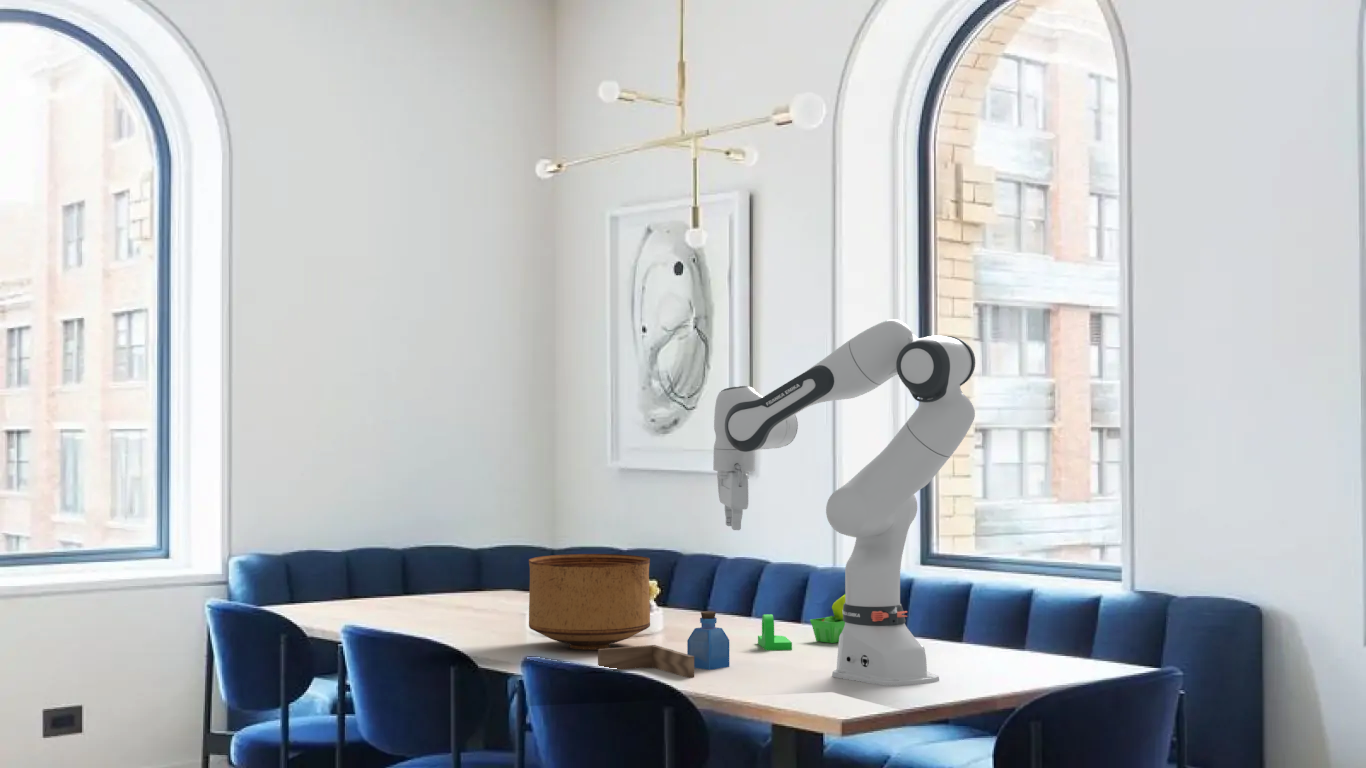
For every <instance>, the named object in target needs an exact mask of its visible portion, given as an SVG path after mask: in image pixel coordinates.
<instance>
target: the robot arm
mask: <svg viewBox="0 0 1366 768" xmlns="http://www.w3.org/2000/svg"><path fill="white" fill-rule="evenodd" d="M975 367H976V356H975V353H974V350H973V349H972V348H971V346H970V345H969V344H968V343H967V342H966V341H964V340H963V339H961V338H958V337H956V336H951V335H931V336H930V335H929V336H925V337H920V338H918V337H917V336H916V335H915V333H914V331H912V329H911V328H910V327H909V326H908V325H907V324H906V323H904V321H901V320H899V319H887V320H885V321H882V322H879V323H877V324H875V325H873V326H871V327H869V328H867V329H865V330H864V331H861V332H860V333H858V334H857V335H855V336H854V337H852V338H851V339H849V340H848V341H846V342H845V343H843V344H842V345H840V346H839V347H838V348H836V349H835V350H834V351H832V352H831V353H829V355H827V356H825V357H824V358H823V359H822V360H820V361H819V362H817V363H815V364H814V365H813V366H811V367H810V368H809V369H807V370H806V371H805V372H803V373H801V374H800V375H797V376H796V377H794V378H793V379H791V380H789V381H788V382H786V383H784V384H782V385H781V386H779V387H777V388H776V389H774V390H773V391H771V392H769V393H768V394H765V395H764V396H763V395H761V394H760V393H759V392H757V391H756V390H755V389H754V388H753V387H752V386H749V385H742V386H741V385H739V386H732V387H728V388H724V389H722V390H721V391H719V392H718V395H717V397H716V400H715V406H714V417H713V419H714V420H713V428H714V433H715V441H714V445H713V463H712V464H713V471H714V472H715V471H716V474H717V491H718V499H719V502H720V503H721V504H722V505H724V515H725V525H726V526H728V527H731V529H732V530H733V531H741V529H742V519H743V511H744V510H747V509H748V508H749V479H750V472H755V470H756V451H757V450H770V449H780V448H783V447H786V446H788V445H789V444H790V445H791V443H792V442H793V441H794V440H795V438H796V436H797V433H798V429H799V428H798V426H799V424H798V423H799V422H798V418H797V416H796V415H797V414H798V413H800V412H801V411H803V410H805V409H807V408H808V407H810V406H814V405H816V404H820V403H826V402H833V401H840V400H850V399H855V398H857V397H860V396H863V395H865V394H867V393H870V392H871V391H874V390H875V389H877V388H878V387H879V386H882V385H883V384H885V383H886V382H887V381H889V380H890V379H892V378H893V377H895V376H897V375H898V377H899V379H900V380H901V382H902V383H903V385H904V386H905V387H906V388H907V389H908V391H909V393H910V394H911V396H912V398H913V399H914V400H915V401H917V402H919V405H918V406H917V408H916V410H915V411H914V412H913V413H912V415H910V416H909V418H908V419H907V420H906V422H905V423H904V425H902V427H901V428H900V429H899V430H898V432H897V433H896V435H894V437H893V438H892V439H891V440H890V441H889V443H888V444H887V445H886V447H885V448H884V449H883V450H882V451H881V452H880V453H879V454H878V455H876V456H875V458H873V459H872V460H871V461H870V462H869V463H867V464H866V465H865V466H864V467H862V468H861V470H860V471H859V472H857V474H855V475H854V476H853V477H852V478H851V479H850V480H849V481H848V482H846V483H845V484H844V485H842V486H841V487H839V488H838V489H836V490H834V492H832V493H831V494H830V496H829V498H828V499H827V502H826V506H825V508H826V509H825V514H826V518H827V521H828V524H829V525H830V527H831V528H832V529H833V530H835V531H836V532H837V533H838V534H842V535H844V536H848V537H852V538H856V539H855V542H854V547H853V550H852V553H851V555H850V557H849V558H848V560H847V561H846V564H845V571H844V572H845V573H844V574H845V575H844V576H845V578H844V579H845V581H844V584H845V585H844V588H845V590H844V591H845V593H844V594H845V604H844V605H843V621H844V622H845V626H844V629H843V631H842V633H841V634H840V636H839V642H838V647H837V648H838V649H837V660H836V669H835V670H833V671H832V674H831V676H832V677H833V678H837V679H842V678H843V679H844V680H848V679H849V681H854V680H856V681H855V682H860V681H861V683H867V684H872V685H878V686H911V685H922V684H930V683H937V682H940V676H939V675H937V674H936V673H935V674H934V673H932V672H929V671H928V666H927V665H928V664H927V654H926V650H925V649H926V648H925V646H923V645H921V643H919V641H918V639H916V637H915V636H914V635H913V633H912V632H911V631H910V629H909V628H908V627H907V625H906V622H907V619H906V618H907V617H908V615H906V614H907V613H908V611H907V610H904V608H903V605H902V603H901V568H902V567H901V566H902V560H903V553H904V549H905V544H906V540H907V536H908V533H909V529H910V526H911V525H912V523H913V521H914V520H915V518H916V516H917V512H918V502H917V501H918V500H917V498H916V496H915V494H916V493H917V492H919V491H920V490H921V489H923V488H925V487H926V486H927V485H929V484H930V482H931V481H932V480H933V478H934V477H935V476H936V475H937V474H938V473H939V471H940V470H941V469H942V467H943V466H944V465H945V464H946V463H947V461H948V460H949V459H950V458H951V456H952V455H953V454H954V453H955V451H956V450H957V449H958V447H959V446H960V445H961V443H962V441H963V440H964V438H965V437H966V435H967V434H968V433H969V430H970V428H971V426H972V425H973V423H974V421H975V417H976V410H975V407H974V405H973V403H972V401H971V400H970V399H969V397H967V396H966V395H965V394H964V393H963V391H962V389H961V386H963V385H964V384H965V383H967V382H968V381H969V380H970V379H971V377H972V376H973V374H974V371H975Z"/></svg>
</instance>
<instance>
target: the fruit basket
mask: <svg viewBox="0 0 1366 768" xmlns="http://www.w3.org/2000/svg"><path fill="white" fill-rule="evenodd" d="M844 604H845V593H844V594H843V595H842V596H841V597H838V599H836V600H835V601H834V602H833V604H832V606H831V610H832V612H833V615H829V616H826V617H820V618H819V617H818V618H812V619H809V622H810V624H811V626H812V627H811V628H812V630H813V635H814V638H815V641H816V642H821V643H829V644H836V643H837V644H838V643H839V636H840V634H841V633H842V631H843V629H844V626H845V622H844V621H843V605H844Z"/></svg>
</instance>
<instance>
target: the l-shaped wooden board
mask: <svg viewBox="0 0 1366 768" xmlns="http://www.w3.org/2000/svg"><path fill="white" fill-rule="evenodd" d="M598 665H599V666H604V667H609V668H617V669H621V670H631V669H632V670H633V669H657V670H661V671H664V672H667V673H671V674H675V675H678V676H680V677H681V676H682V677H685V678H688V679H693V678H695V668H694V656H691V655H688V654H687V653H684V652H680V651H677V650H674V649H670V648H667V647H663V646H660V645H656V644H649V645H648V644H647V645H636V646H623V647H622V646H621V647H620V646H619V647H609V648H605V649H597V666H598Z"/></svg>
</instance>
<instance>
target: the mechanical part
mask: <svg viewBox="0 0 1366 768" xmlns="http://www.w3.org/2000/svg"><path fill="white" fill-rule="evenodd" d="M757 644H758V645H759V646H760V647H763V648H764V649H763V648H762V649H763V650H764V651H792V650H793V642H792V641H791V640H790V639H789V638H788V637H786V636H784V635H776V634H775V620H774V615H773V614H771V613H770V614H762V618H761V635H757Z"/></svg>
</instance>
